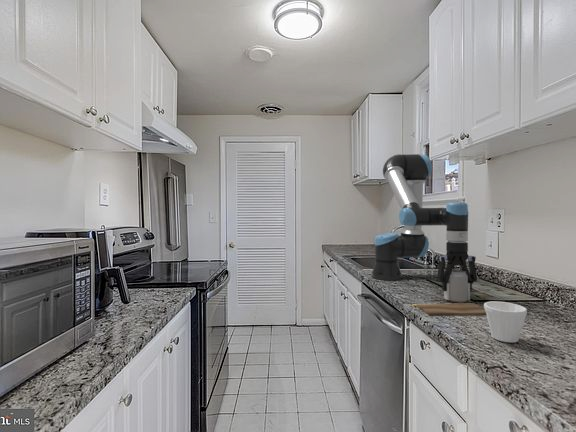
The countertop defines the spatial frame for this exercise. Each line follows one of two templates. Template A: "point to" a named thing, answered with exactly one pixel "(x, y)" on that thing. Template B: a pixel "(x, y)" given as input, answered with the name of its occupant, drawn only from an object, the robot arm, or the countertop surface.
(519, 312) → the cup
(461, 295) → the can
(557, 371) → the countertop surface
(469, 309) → the board
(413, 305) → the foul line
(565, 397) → the countertop surface
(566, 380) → the countertop surface
